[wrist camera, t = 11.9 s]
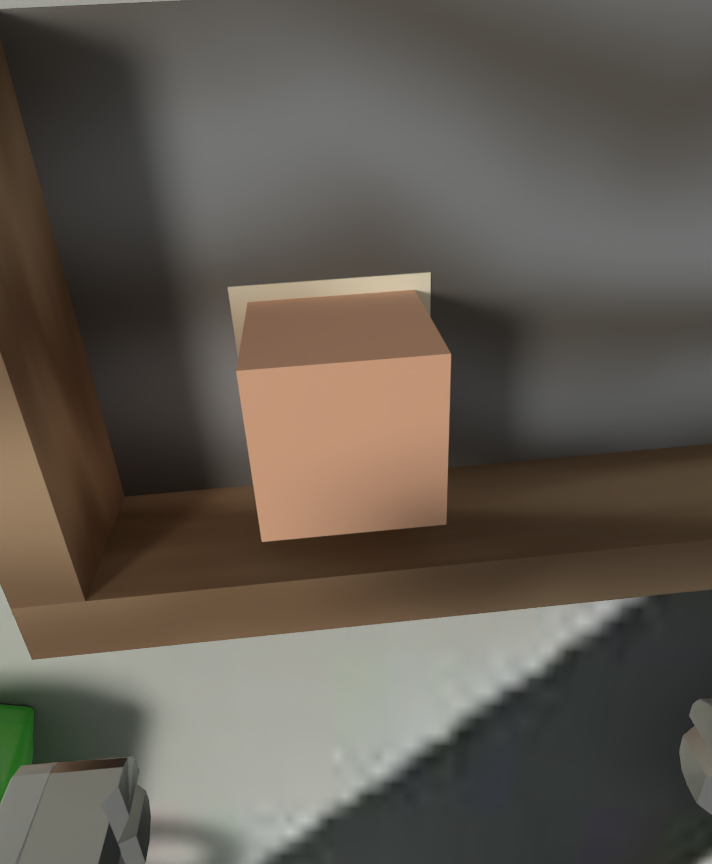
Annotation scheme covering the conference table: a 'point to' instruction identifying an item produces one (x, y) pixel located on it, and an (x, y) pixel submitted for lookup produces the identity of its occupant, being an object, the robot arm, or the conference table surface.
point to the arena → (343, 275)
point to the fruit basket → (14, 741)
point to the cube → (345, 414)
